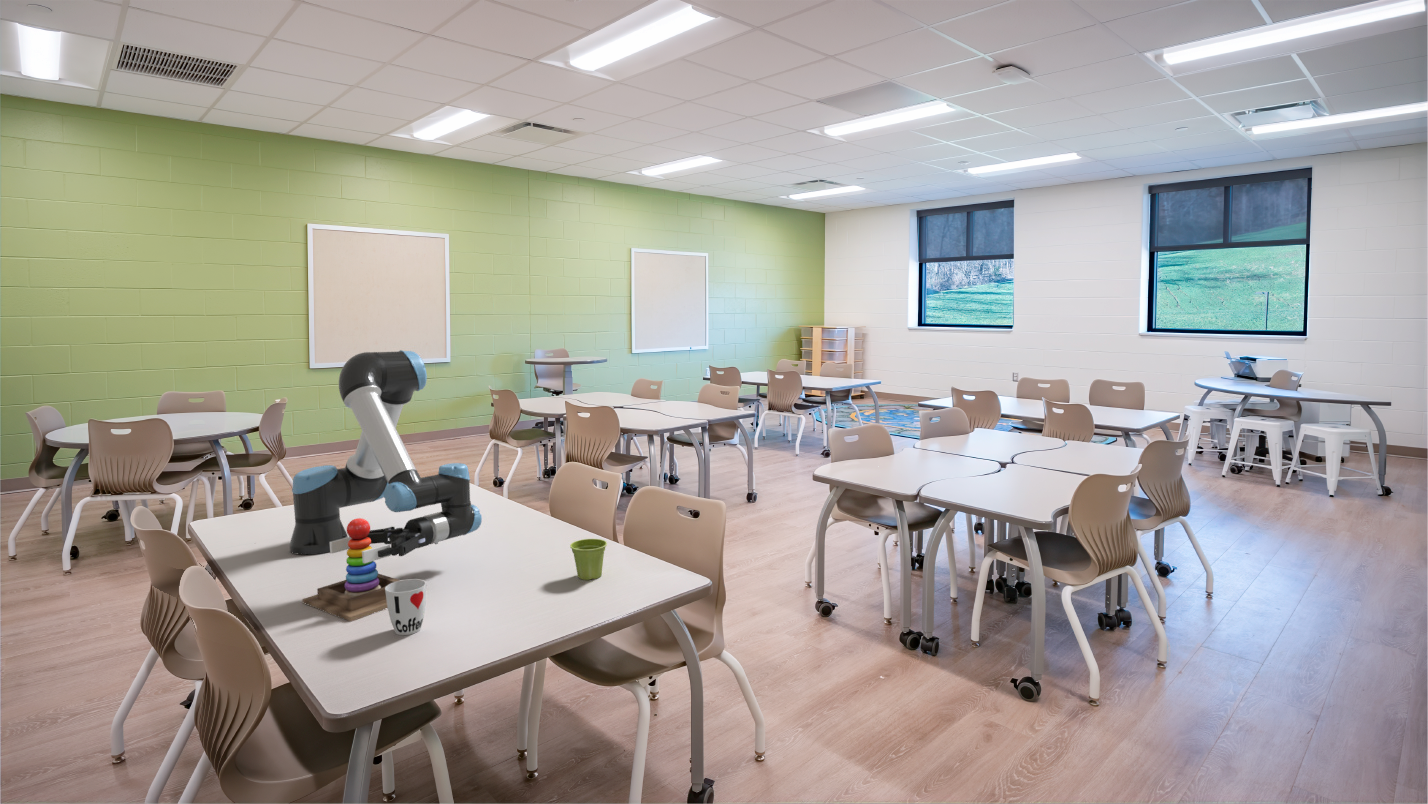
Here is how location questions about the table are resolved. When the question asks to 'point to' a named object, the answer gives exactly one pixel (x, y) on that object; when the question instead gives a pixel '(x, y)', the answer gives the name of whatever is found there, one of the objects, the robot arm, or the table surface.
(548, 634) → the table surface
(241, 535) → the table surface
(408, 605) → the cup
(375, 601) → the walnut jig
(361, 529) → the stacking toy
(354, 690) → the table surface
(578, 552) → the plant pot
